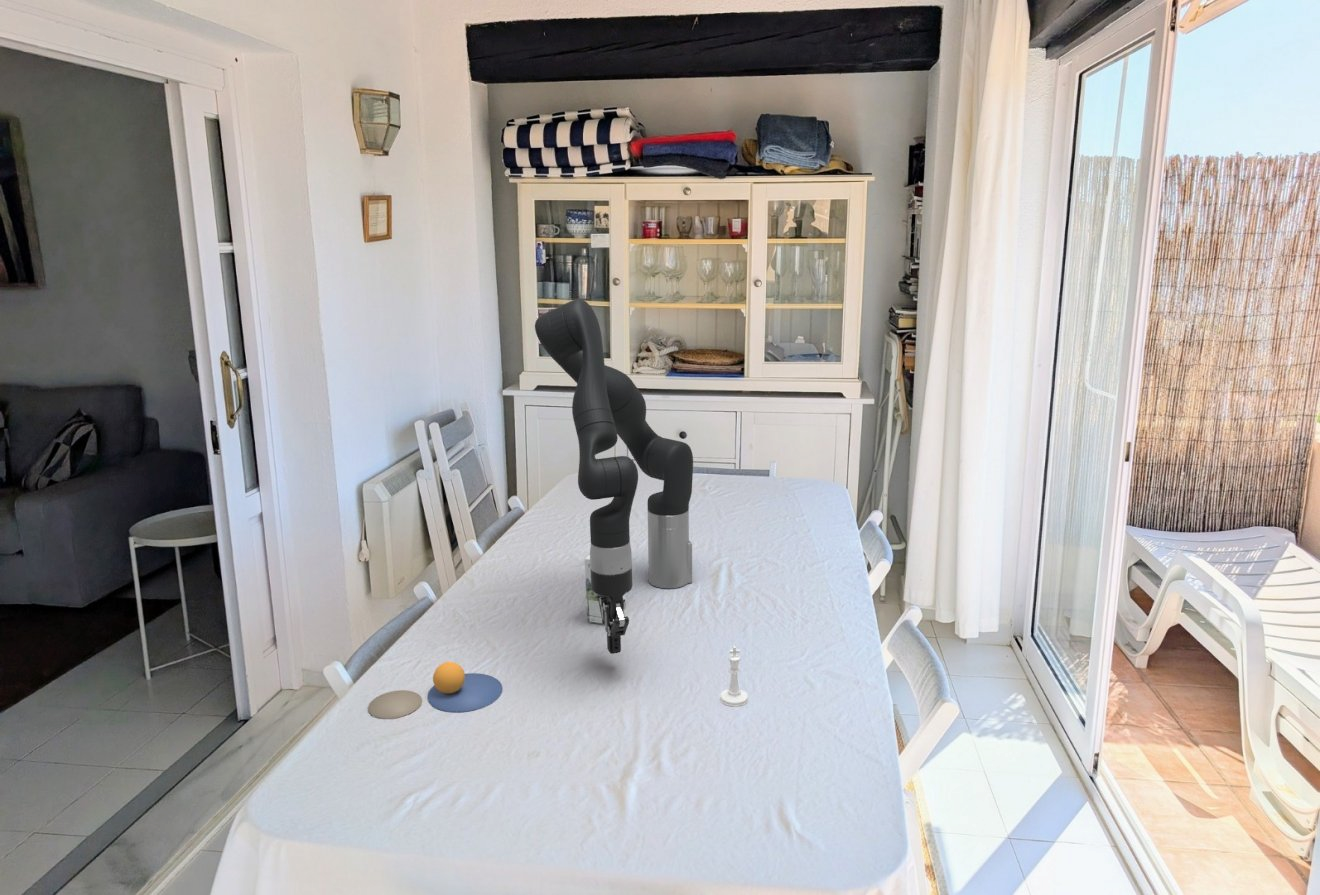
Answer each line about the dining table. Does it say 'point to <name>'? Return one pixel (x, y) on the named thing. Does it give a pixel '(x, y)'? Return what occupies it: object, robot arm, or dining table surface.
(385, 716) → the disc
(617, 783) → the dining table surface
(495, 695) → the disc
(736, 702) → the chess piece
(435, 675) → the ball
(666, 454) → the robot arm
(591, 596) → the syrup box
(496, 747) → the dining table surface
